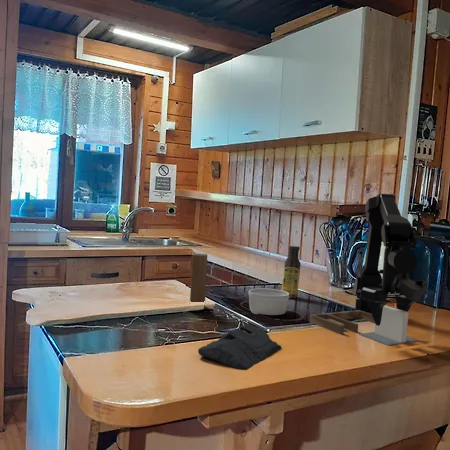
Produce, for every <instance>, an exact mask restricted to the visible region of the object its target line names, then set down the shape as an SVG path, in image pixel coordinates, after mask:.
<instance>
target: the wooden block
mask: <svg viewBox="0 0 450 450" xmlns="http://www.w3.org/2000/svg"><path fill="white" fill-rule="evenodd" d="M191 258H192V259H191V260H192V261H191V278H190V292H189V293H190V294H189V302H190V301H191V302H204V301H205V302H206V297H207V296H206V289H207V288H206V285H207V272H208V271H207V270H208V269H207V268H208V254H207V253H197V252H196V253H193V254H192V257H191Z"/></svg>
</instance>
